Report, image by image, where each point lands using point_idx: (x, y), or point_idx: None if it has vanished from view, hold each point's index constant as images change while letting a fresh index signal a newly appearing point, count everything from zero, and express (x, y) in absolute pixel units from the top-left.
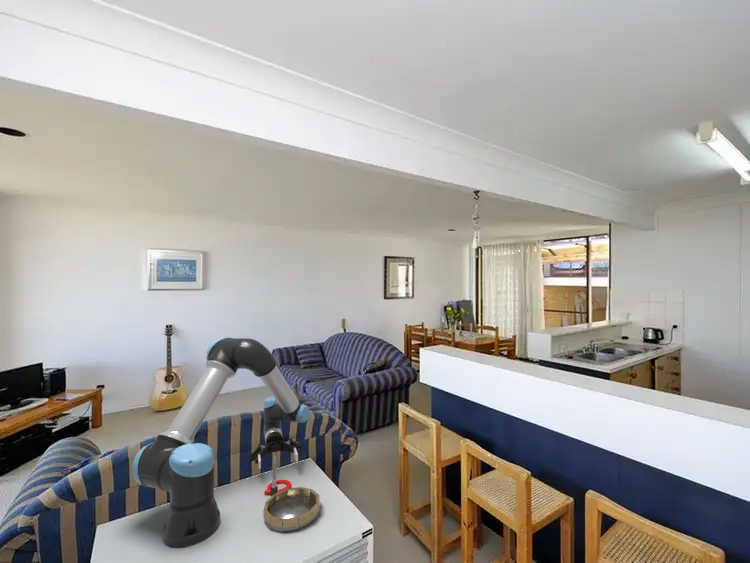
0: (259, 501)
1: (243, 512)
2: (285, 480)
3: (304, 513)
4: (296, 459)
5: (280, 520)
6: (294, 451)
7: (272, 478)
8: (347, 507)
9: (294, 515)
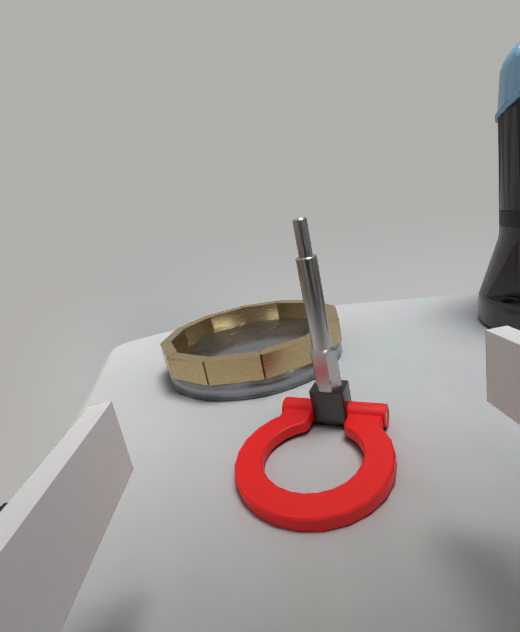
0: (396, 391)
1: (435, 356)
2: (270, 503)
3: (223, 337)
4: (121, 447)
5: (283, 300)
6: (49, 513)
7: (330, 340)
8: (104, 374)
9: (250, 333)
